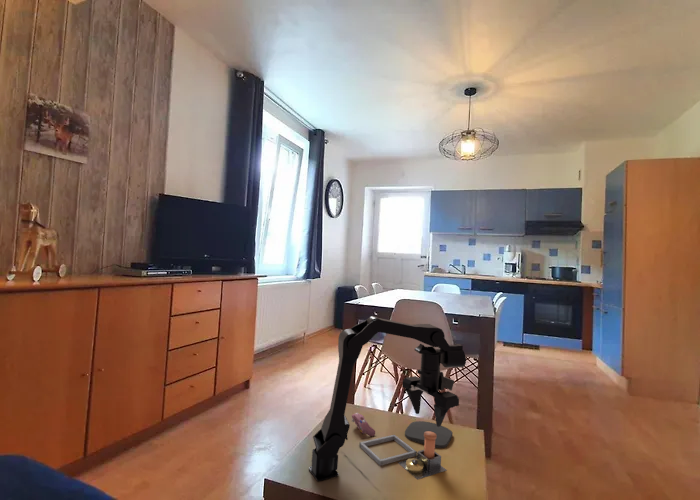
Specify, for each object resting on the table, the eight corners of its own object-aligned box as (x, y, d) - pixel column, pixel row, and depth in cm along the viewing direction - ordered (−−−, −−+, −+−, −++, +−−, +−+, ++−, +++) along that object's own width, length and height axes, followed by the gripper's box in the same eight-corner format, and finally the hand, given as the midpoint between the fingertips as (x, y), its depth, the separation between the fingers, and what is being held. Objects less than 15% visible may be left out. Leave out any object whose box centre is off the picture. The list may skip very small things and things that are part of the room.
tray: (379, 469, 105) (380, 461, 105) (359, 449, 115) (359, 442, 115) (416, 458, 112) (416, 451, 112) (393, 441, 122) (394, 434, 122)
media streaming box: (401, 441, 123) (401, 432, 123) (414, 425, 135) (415, 417, 136) (444, 455, 116) (445, 445, 116) (454, 436, 129) (454, 427, 129)
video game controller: (354, 429, 132) (347, 413, 131) (365, 422, 134) (358, 406, 132) (366, 442, 123) (358, 425, 122) (377, 435, 124) (370, 417, 123)
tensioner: (417, 483, 99) (418, 468, 100) (397, 465, 107) (398, 452, 107) (446, 473, 105) (447, 459, 105) (425, 457, 113) (426, 444, 113)
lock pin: (428, 468, 105) (429, 438, 105) (419, 462, 108) (421, 432, 108) (437, 466, 107) (439, 435, 107) (429, 459, 110) (430, 430, 110)
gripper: (473, 373, 105) (471, 428, 105) (428, 356, 121) (426, 404, 121) (445, 378, 100) (443, 436, 99) (402, 360, 116) (400, 409, 115)
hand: (427, 419), depth 109 cm, fingers open, 9 cm apart
